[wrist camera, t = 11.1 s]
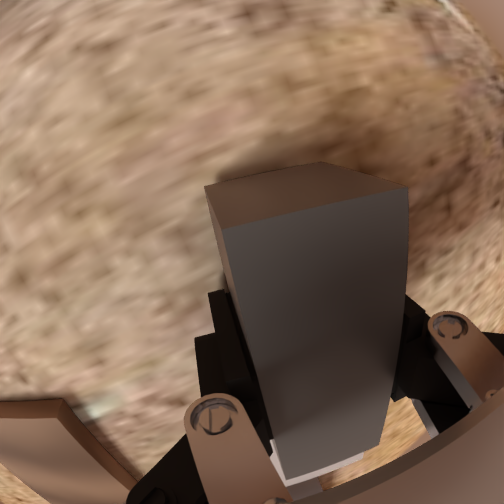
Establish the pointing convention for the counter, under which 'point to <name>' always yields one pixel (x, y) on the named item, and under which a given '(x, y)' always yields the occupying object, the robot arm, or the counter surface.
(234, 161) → the counter surface
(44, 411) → the rest
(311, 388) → the stepped grey white block
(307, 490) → the tile
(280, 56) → the counter surface
